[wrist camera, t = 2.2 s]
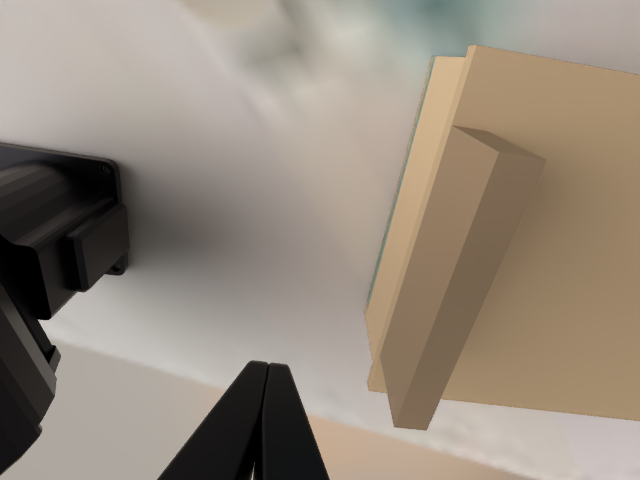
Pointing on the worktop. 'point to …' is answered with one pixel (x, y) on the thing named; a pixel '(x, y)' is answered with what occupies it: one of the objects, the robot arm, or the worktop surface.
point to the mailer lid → (523, 248)
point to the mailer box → (411, 188)
